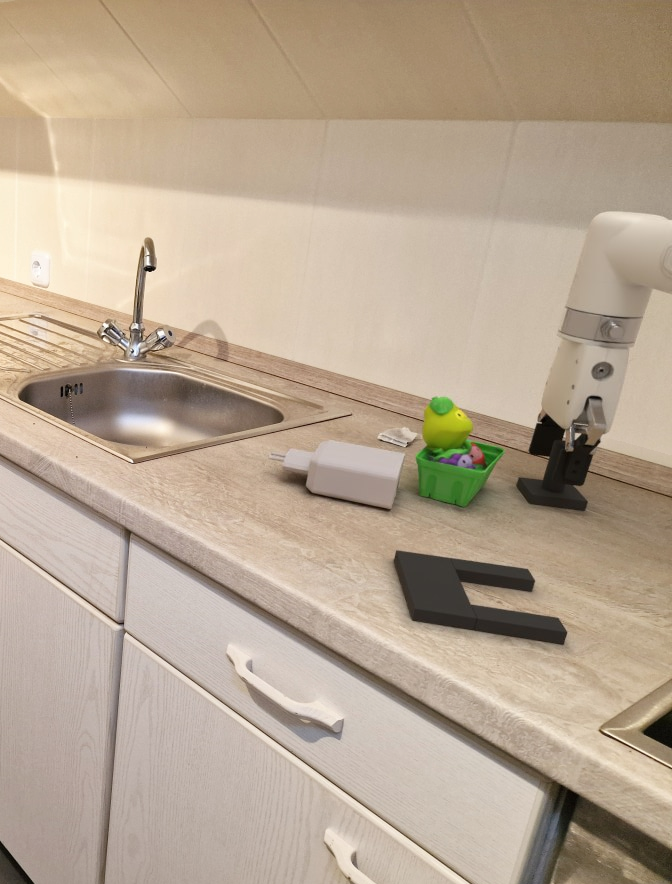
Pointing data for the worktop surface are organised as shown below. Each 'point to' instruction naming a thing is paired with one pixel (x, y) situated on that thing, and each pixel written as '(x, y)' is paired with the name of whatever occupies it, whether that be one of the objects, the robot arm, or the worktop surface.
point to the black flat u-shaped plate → (446, 603)
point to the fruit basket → (452, 455)
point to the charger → (348, 471)
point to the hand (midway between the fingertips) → (553, 468)
